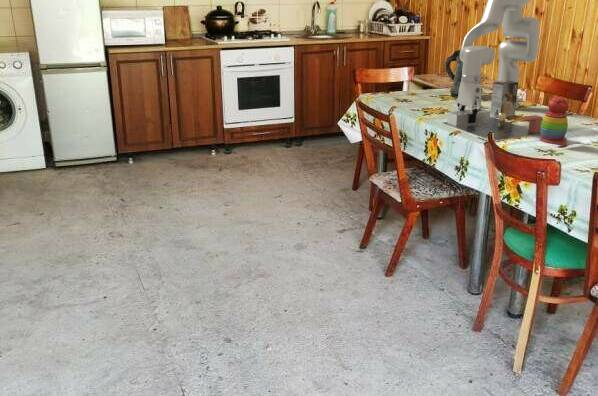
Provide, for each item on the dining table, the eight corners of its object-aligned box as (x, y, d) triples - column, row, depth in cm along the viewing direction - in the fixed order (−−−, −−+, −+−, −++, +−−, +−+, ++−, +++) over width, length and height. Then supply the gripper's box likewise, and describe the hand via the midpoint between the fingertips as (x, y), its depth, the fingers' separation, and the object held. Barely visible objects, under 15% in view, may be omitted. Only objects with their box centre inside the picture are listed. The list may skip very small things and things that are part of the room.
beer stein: (485, 99, 299) (491, 49, 290) (448, 99, 299) (452, 50, 290) (477, 93, 314) (481, 45, 305) (441, 93, 315) (444, 46, 305)
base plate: (489, 118, 260) (489, 116, 260) (543, 135, 233) (543, 132, 233) (441, 124, 250) (441, 122, 250) (492, 143, 223) (492, 140, 223)
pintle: (501, 125, 245) (503, 112, 243) (505, 126, 243) (507, 113, 241) (496, 125, 244) (498, 112, 242) (501, 127, 242) (502, 114, 240)
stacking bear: (566, 148, 216) (574, 100, 209) (537, 145, 220) (544, 98, 213) (567, 141, 225) (574, 95, 219) (539, 138, 229) (545, 93, 222)
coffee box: (504, 115, 266) (508, 79, 261) (514, 117, 261) (519, 82, 255) (489, 117, 262) (493, 81, 257) (499, 120, 257) (503, 84, 251)
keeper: (533, 130, 237) (535, 115, 235) (540, 132, 234) (542, 116, 232) (514, 132, 233) (516, 117, 231) (520, 134, 230) (522, 119, 228)
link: (479, 119, 255) (480, 108, 253) (489, 122, 250) (490, 111, 248) (446, 123, 249) (447, 112, 247) (456, 126, 243) (457, 115, 241)
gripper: (492, 81, 236) (487, 124, 242) (464, 75, 251) (460, 116, 257) (477, 82, 233) (473, 126, 240) (450, 76, 248) (447, 117, 254)
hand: (466, 120), depth 248 cm, fingers closed on link, 6 cm apart
